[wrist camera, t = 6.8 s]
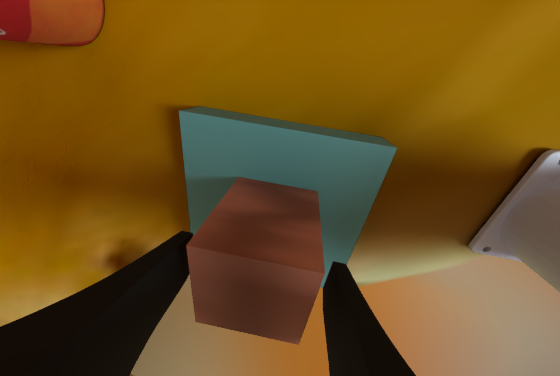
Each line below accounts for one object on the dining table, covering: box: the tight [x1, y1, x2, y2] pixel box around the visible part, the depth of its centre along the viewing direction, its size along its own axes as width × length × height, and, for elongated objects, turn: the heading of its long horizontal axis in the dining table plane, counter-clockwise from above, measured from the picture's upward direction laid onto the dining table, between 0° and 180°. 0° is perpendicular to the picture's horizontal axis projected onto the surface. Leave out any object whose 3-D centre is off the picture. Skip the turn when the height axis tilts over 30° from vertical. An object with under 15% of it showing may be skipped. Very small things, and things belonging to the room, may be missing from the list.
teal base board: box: [179, 106, 397, 288], centre depth 15 cm, size 12×12×3 cm
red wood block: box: [186, 177, 325, 344], centre depth 11 cm, size 5×5×6 cm
